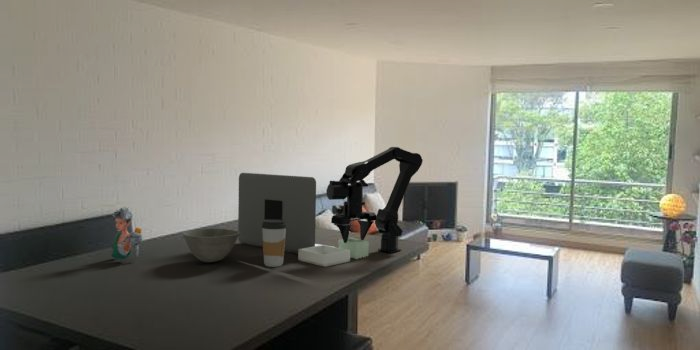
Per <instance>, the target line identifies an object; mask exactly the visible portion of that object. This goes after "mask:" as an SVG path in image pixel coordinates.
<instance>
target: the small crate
mask: <svg viewBox="0 0 700 350" xmlns="http://www.w3.org/2000/svg"><path fill="white" fill-rule="evenodd" d="M337 245H338V246H337V247H338V248H342V249H347V250H350V259H353V258H354V260H358V259H359V258H360V259H362V257H363V258H367V257H369V247H370V244H369V240H365V239H364V240H361V239H359V238H355V237H354V238H353V237H348V240H347V243H344V241H343V238H341V239H338V243H337ZM366 256H367V257H366ZM360 259H359V260H360Z"/></svg>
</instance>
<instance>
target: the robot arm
mask: <svg viewBox="0 0 700 350" xmlns="http://www.w3.org/2000/svg"><path fill="white" fill-rule="evenodd" d="M393 160H395V161H396V162H398V163H399V165H398V167H399V174H398V176H397V179H396V181H395V184H394V186H393V188H392V191H391V194H390V196H389V198H388V201H387V203H386V205H385V207H384V208H383V209H381V208H378V210H377V212H376V213H375V212H372V211H363V205H364V206H365V205H366V201H363V197H364V196H363V193H364V192H363V191H364V189H363V188H364V187H368V186H369V184H368V183H367V182H366V181H365V180H364V179H366V178H367V177H368V176H369V175H370V174H371V173H372V171H374V170H376V169H377V168H379V167H382V166H384V165H385V164H387V163H389V162H391V161H393ZM422 165H423V158H422V155H421V154H419V153H418V152H411V151H407V150H406V149H405V150H404V149H402V148H400V147H399V146H391V147H388V149H386V150H384V151H382V152H380V153H378V154H375V155H374V156H373V157H370V158H368V159H366V160H363V161H358V162H355V163H350V164H348V165H347V166H346V167H345V171H344V173H343V174H342V176H341V177H340V179H339V180H330V181H329V184H328V185H327V188H326V196H327V199H328V200H331V201H334V200H335V201H336V200H339V201H340V200H344V202H343V205H341V206H340V205H339V204H334V205H332V206H331V213H332V217H331V224H333V225H334V226H336V227H337V228H338V230H339V231H340V235H341V237H342V238H341V239H343V241H344V243H347V240H348V238H349V234H350V230H351V224H350V223H351V222H352V221H353V222H354V221H357V222H358V224H359V229H360V230H359V234H360V235H359V236H360V240H365V239H366V236H367V234H368V232H369V230H370V228H371V227H372V225H373V224H375V227H376V228H377V231H378V233H379V234H380V235H381V239H380V248H378V249H377V250H378V251H380V252H386V253H390V254H391V253H396V252H400V251H402V249H401V248H399V237H401V236H402V234H403V229H402V228H401V227H400V226H399V225H398V222H399V209H400V207H401V205H402V201H403V199H404V197H405V194H406V191H407V189H408V187H409V184H410V183H411V179H412V177H413V176H414V175H415V174H416V173H417V172H418V171H419V170H420V168H421V166H422ZM345 200H346V201H345Z"/></svg>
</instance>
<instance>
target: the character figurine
mask: <svg viewBox="0 0 700 350" xmlns="http://www.w3.org/2000/svg"><path fill="white" fill-rule="evenodd" d="M112 217H113V220H114V222H115V228H116V229H117V233H115V235H114V240H113V243H112V244H111V249H112V253H111V257H112V258H113V259H115V260H116V259H117V260H118V259H119V260H126V259H128V258H129V256H131V253H132V245H133V251H134V256H135V258H139V257H140V247H139V246H140V245H139V243H142V242H143V234H142V231H143V230H142V228H140V227H136V228H135V229H134V231H131V232H129V231H128V227H129V226H131V220H133V214H132V211H130V210H129V207H127V206H122V207H120V208H119V209H116V210H115V211H114V213H113V214H112Z"/></svg>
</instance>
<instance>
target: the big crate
mask: <svg viewBox="0 0 700 350" xmlns="http://www.w3.org/2000/svg"><path fill="white" fill-rule="evenodd" d="M332 246H333V245H326V244H320V246H314V247H308V248H302V249H298V253H297V255H298V256H297V260H298V261H299V262H303V263H307V264H312V265H316V266H319V267H324V268H326V267H330V266H335V265H336V266H337V265H340V264H344V263H349V262H351V258H350V250H347V249H342V248H337V247H338V246H333V247H332Z"/></svg>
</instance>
